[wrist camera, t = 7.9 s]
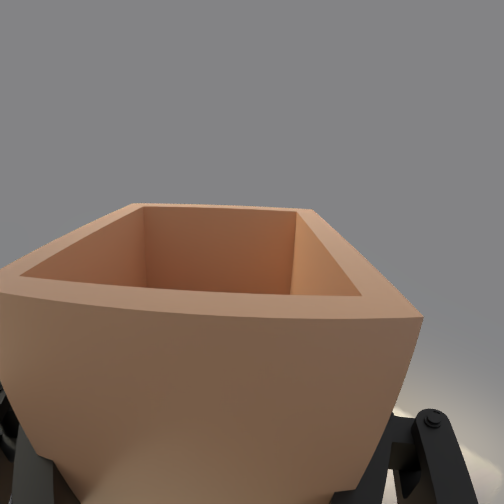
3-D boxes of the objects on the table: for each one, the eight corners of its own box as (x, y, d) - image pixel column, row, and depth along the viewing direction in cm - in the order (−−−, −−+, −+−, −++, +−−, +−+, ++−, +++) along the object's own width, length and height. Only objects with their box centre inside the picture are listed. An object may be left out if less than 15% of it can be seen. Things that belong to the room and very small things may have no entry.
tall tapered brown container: (120, 561, 8) (-30, 286, 4) (157, 428, 18) (132, 203, 14) (297, 577, 8) (423, 316, 4) (283, 436, 18) (312, 209, 14)
